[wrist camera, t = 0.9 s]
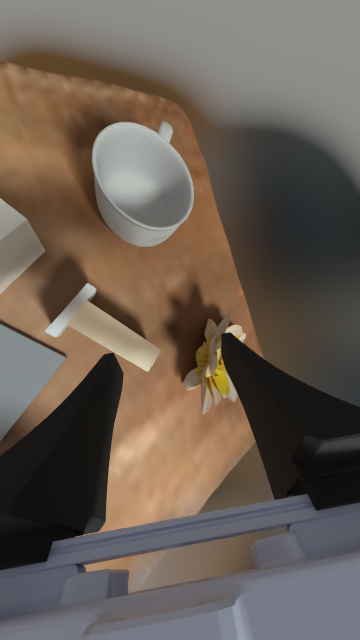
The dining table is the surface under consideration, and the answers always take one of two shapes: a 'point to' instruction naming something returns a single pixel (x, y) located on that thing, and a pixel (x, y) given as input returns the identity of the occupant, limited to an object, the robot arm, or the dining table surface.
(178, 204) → the teacup
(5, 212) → the tile
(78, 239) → the dining table surface
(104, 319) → the pusher
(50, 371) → the mat
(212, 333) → the decorative flower
